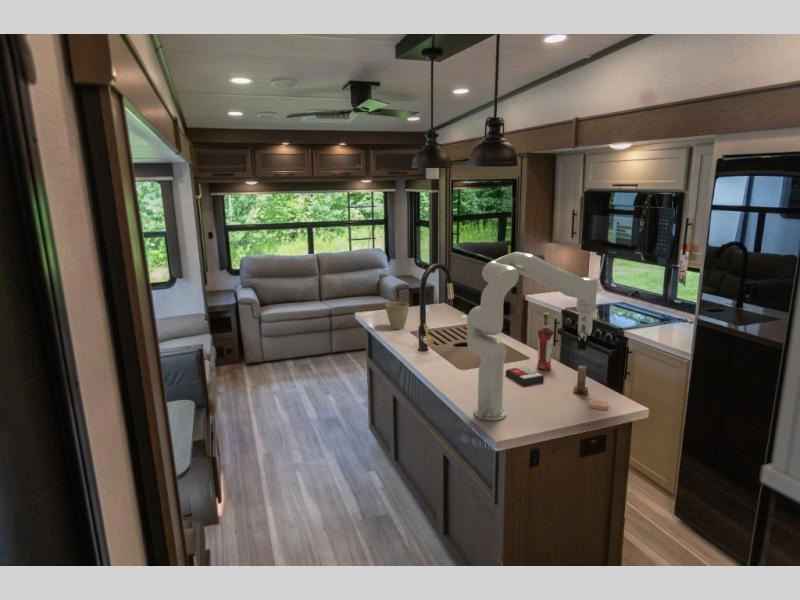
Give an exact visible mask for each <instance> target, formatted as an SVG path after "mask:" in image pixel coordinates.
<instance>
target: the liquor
mask: <svg viewBox="0 0 800 600" xmlns="http://www.w3.org/2000/svg"><path fill="white" fill-rule="evenodd" d="M549 320H550V313H549V312H543V325H542V328H540V329H539V330H537V364H536V366H537V368H538V369H539V370H541V369H542V371H548V370H549V369H551V368H552V365H551V363H552V351H553V350H552V349H553V342H554V331H553V330H552V329H551V328H550V321H549Z"/></svg>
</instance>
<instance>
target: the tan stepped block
mask: <svg viewBox="0 0 800 600" xmlns="http://www.w3.org/2000/svg"><path fill="white" fill-rule="evenodd" d="M586 377H587V365H578V368H577V381H576V383H577V384H576V385H574V386H573V392H572V393H573V394H575V393H576V394H577V395H583V396H588V394H589V387H587V386H586V380H587V379H586Z"/></svg>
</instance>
